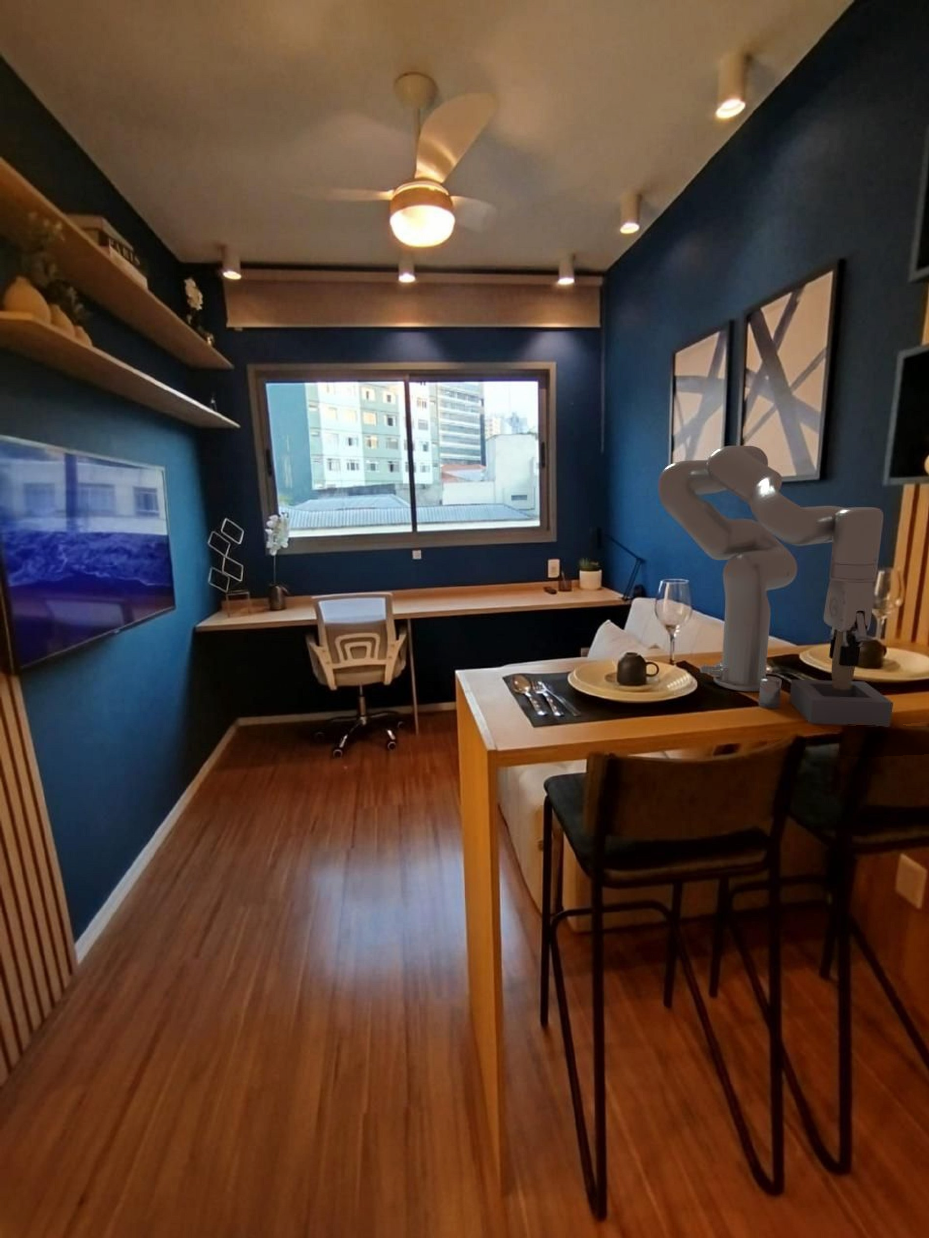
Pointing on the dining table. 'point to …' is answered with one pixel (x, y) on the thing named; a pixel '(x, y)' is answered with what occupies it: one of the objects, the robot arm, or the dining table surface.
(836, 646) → the handle
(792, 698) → the block
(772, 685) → the short peg
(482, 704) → the dining table surface
